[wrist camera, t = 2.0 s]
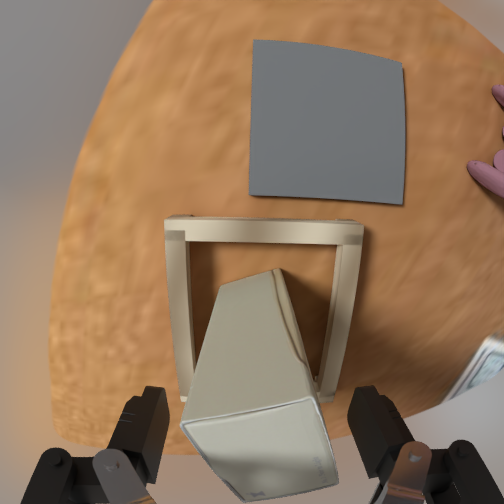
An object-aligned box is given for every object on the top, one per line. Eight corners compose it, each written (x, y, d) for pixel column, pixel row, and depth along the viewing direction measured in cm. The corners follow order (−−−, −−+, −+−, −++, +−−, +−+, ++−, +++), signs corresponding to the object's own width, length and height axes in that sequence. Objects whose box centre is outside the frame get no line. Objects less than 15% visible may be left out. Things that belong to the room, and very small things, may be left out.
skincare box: (302, 342, 20) (344, 485, 9) (244, 358, 21) (242, 506, 9) (279, 262, 19) (322, 395, 7) (213, 283, 19) (174, 426, 7)
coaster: (397, 65, 15) (401, 62, 15) (398, 203, 18) (402, 204, 17) (253, 43, 15) (253, 39, 15) (248, 194, 18) (248, 195, 17)
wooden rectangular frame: (352, 219, 18) (364, 225, 16) (327, 385, 22) (332, 401, 20) (172, 214, 18) (164, 219, 16) (185, 385, 21) (181, 401, 20)
